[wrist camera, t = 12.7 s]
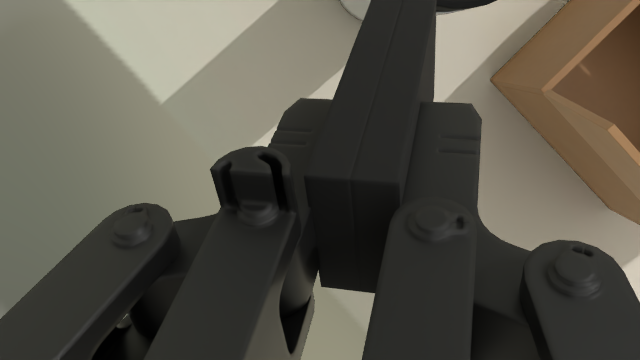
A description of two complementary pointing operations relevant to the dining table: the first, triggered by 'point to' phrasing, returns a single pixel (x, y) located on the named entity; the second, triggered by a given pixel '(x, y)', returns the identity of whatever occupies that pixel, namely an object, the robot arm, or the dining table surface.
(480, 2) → the travel mug
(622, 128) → the carton
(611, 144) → the flap
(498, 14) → the dining table surface
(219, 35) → the dining table surface
